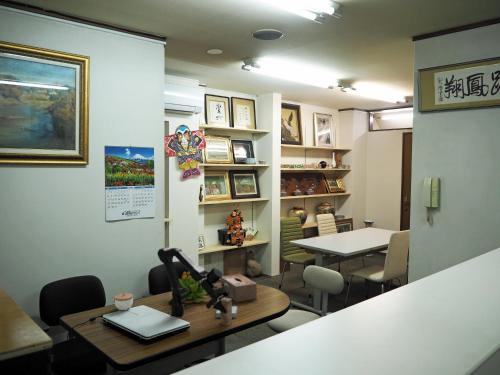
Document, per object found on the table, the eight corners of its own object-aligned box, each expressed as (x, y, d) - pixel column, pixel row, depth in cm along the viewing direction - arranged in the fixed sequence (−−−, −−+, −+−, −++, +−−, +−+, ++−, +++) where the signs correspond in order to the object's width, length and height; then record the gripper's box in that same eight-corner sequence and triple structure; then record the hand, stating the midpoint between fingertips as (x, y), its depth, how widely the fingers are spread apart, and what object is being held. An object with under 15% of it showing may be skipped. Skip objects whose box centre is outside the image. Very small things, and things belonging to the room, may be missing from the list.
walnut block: (220, 324, 216) (220, 300, 215) (224, 321, 220) (224, 297, 219) (227, 325, 214) (227, 301, 213) (231, 322, 218) (231, 298, 218)
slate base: (216, 317, 226) (216, 313, 226) (218, 310, 237) (218, 306, 237) (235, 317, 225) (235, 313, 225) (237, 310, 236) (237, 306, 236)
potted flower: (179, 310, 238) (179, 280, 237) (160, 300, 256) (160, 272, 256) (214, 301, 254) (214, 273, 253) (194, 292, 272) (194, 266, 271)
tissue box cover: (220, 291, 275) (220, 276, 275) (240, 288, 282) (240, 274, 281) (236, 302, 252) (235, 286, 252) (256, 299, 258) (256, 283, 258)
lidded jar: (127, 312, 234) (127, 296, 234) (111, 311, 236) (110, 295, 236) (136, 306, 245) (136, 291, 244) (120, 305, 247) (120, 290, 247)
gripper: (210, 284, 209) (229, 308, 205) (227, 275, 226) (245, 297, 222) (197, 297, 213) (216, 321, 209) (215, 287, 230) (232, 309, 226)
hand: (228, 311), depth 216 cm, fingers closed on walnut block, 4 cm apart
